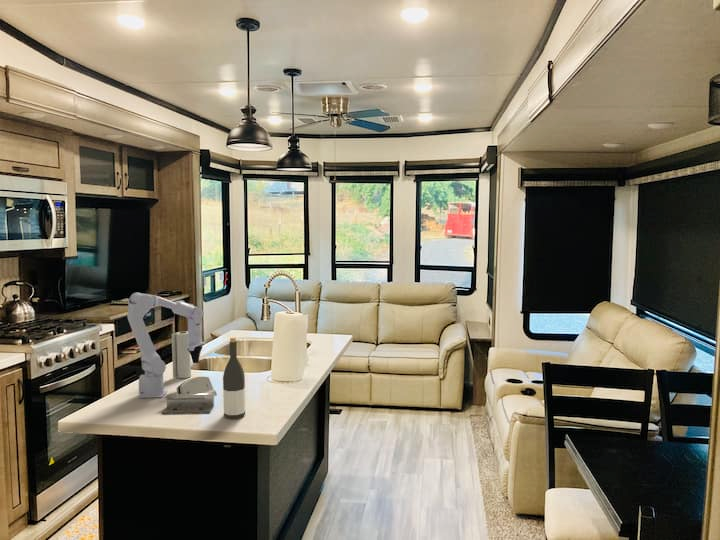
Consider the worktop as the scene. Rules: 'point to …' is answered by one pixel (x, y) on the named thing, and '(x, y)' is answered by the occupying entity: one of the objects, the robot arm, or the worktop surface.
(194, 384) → the beige piece
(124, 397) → the worktop surface
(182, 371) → the paper towel roll
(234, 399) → the wine bottle
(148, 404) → the worktop surface
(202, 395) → the fixed leaf
